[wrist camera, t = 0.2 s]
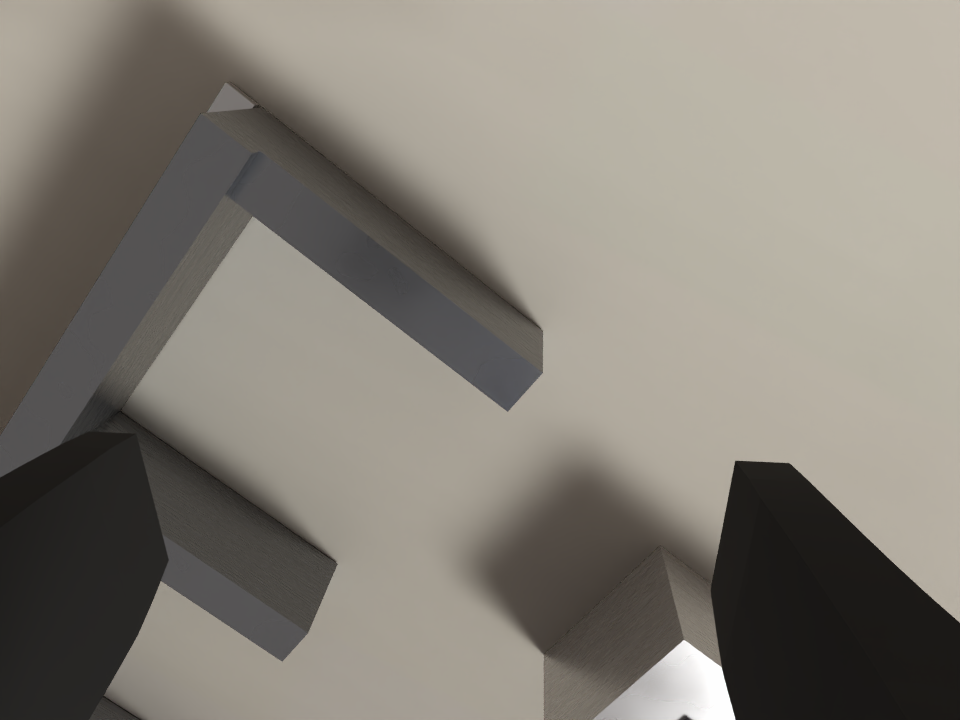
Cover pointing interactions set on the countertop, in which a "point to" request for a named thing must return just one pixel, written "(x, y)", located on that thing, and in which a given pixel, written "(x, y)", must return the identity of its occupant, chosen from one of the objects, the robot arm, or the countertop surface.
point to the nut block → (642, 652)
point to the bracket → (171, 292)
